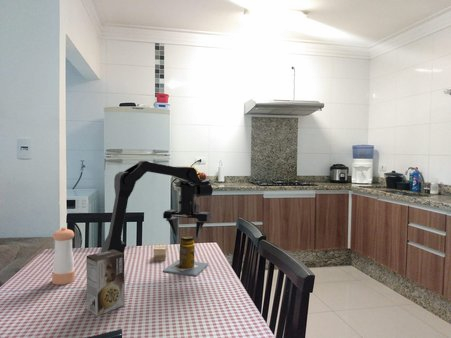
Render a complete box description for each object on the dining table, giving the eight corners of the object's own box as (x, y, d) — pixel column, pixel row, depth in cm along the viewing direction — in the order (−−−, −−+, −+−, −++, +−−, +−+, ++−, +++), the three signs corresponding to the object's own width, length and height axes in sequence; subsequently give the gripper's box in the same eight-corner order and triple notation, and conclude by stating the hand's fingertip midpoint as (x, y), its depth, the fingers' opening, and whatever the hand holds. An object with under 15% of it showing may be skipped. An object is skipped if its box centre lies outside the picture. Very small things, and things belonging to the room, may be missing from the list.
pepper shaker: (65, 285, 116) (65, 230, 115) (47, 283, 118) (47, 229, 117) (79, 278, 123) (79, 226, 122) (61, 276, 125) (61, 225, 124)
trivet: (196, 276, 127) (196, 274, 127) (162, 271, 131) (162, 270, 131) (208, 264, 141) (208, 263, 141) (177, 261, 145) (177, 259, 145)
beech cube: (165, 260, 146) (165, 248, 146) (153, 260, 146) (153, 248, 146) (166, 256, 151) (166, 245, 151) (155, 256, 151) (155, 245, 150)
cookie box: (113, 299, 106) (113, 248, 105) (125, 305, 102) (125, 252, 101) (85, 309, 99) (85, 255, 98) (97, 316, 95) (97, 259, 94)
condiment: (198, 266, 137) (199, 237, 136) (182, 271, 131) (182, 240, 130) (187, 262, 142) (187, 234, 141) (170, 266, 136) (171, 237, 135)
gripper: (215, 197, 140) (215, 234, 141) (174, 194, 145) (174, 230, 146) (206, 200, 129) (206, 240, 130) (162, 197, 134) (162, 236, 135)
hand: (186, 236), depth 135 cm, fingers open, 9 cm apart
